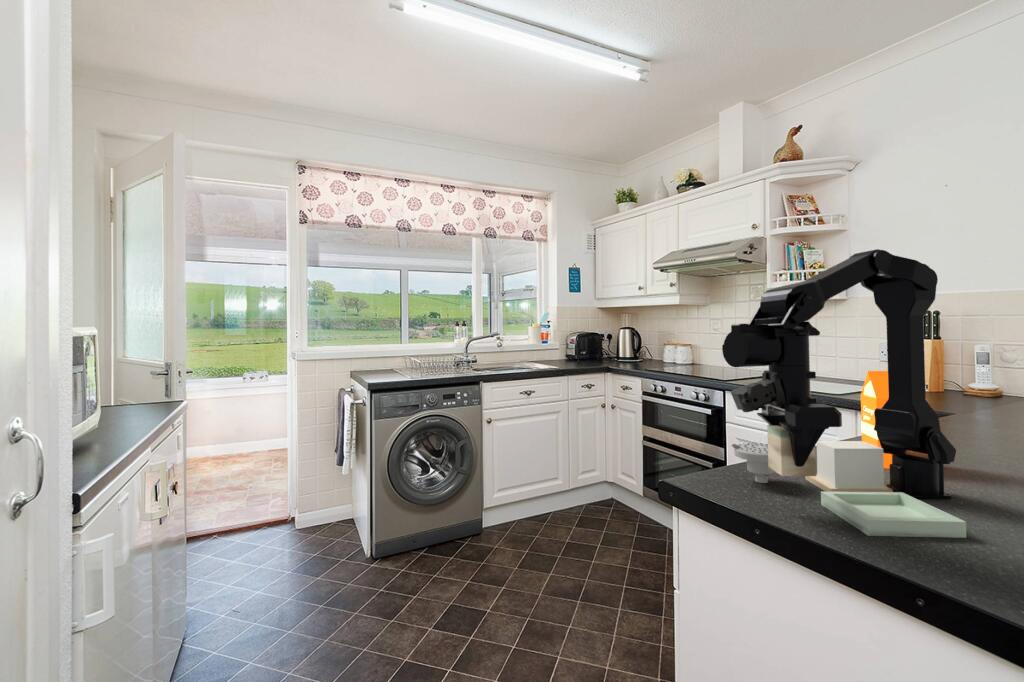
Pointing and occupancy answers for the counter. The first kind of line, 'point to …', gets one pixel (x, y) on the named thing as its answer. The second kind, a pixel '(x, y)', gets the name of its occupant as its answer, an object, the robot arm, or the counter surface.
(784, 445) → the block
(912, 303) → the robot arm
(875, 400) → the orange juice
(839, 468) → the butter dish
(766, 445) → the showerhead
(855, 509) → the parts tray
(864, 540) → the counter surface
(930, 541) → the counter surface
